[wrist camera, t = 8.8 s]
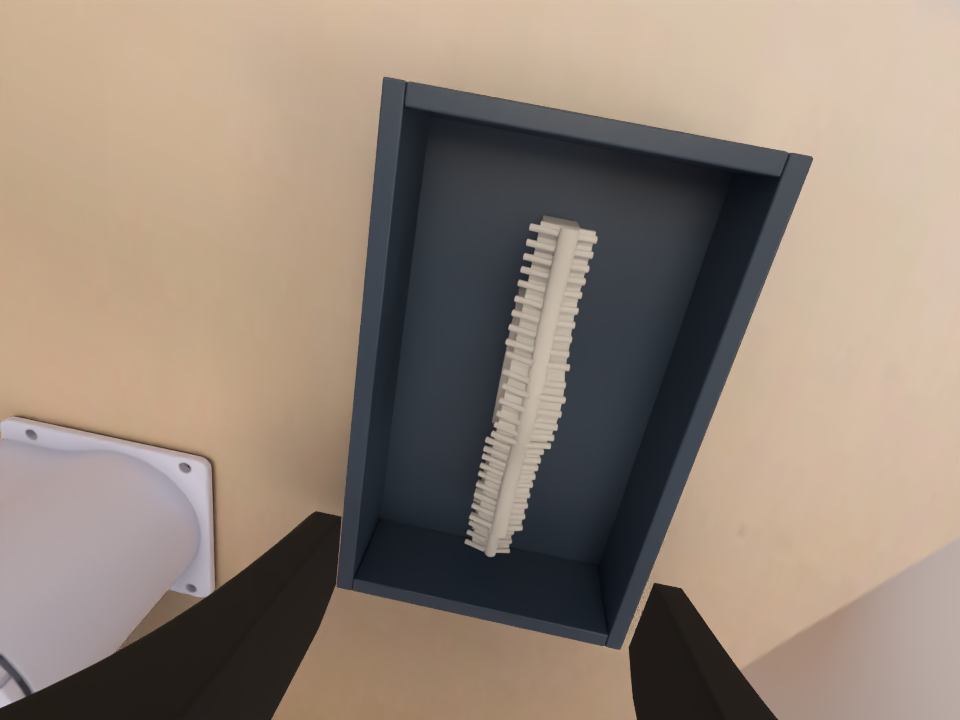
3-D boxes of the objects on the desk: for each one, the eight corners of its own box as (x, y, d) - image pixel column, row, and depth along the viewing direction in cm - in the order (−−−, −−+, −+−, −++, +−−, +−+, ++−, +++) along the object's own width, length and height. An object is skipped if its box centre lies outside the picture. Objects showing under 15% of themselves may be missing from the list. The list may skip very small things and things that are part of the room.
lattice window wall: (514, 507, 22) (505, 627, 16) (472, 498, 22) (449, 615, 16) (587, 212, 17) (609, 240, 12) (533, 202, 17) (530, 225, 12)
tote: (368, 518, 23) (336, 587, 20) (417, 93, 17) (382, 75, 13) (607, 570, 23) (620, 651, 19) (753, 156, 16) (815, 156, 13)
